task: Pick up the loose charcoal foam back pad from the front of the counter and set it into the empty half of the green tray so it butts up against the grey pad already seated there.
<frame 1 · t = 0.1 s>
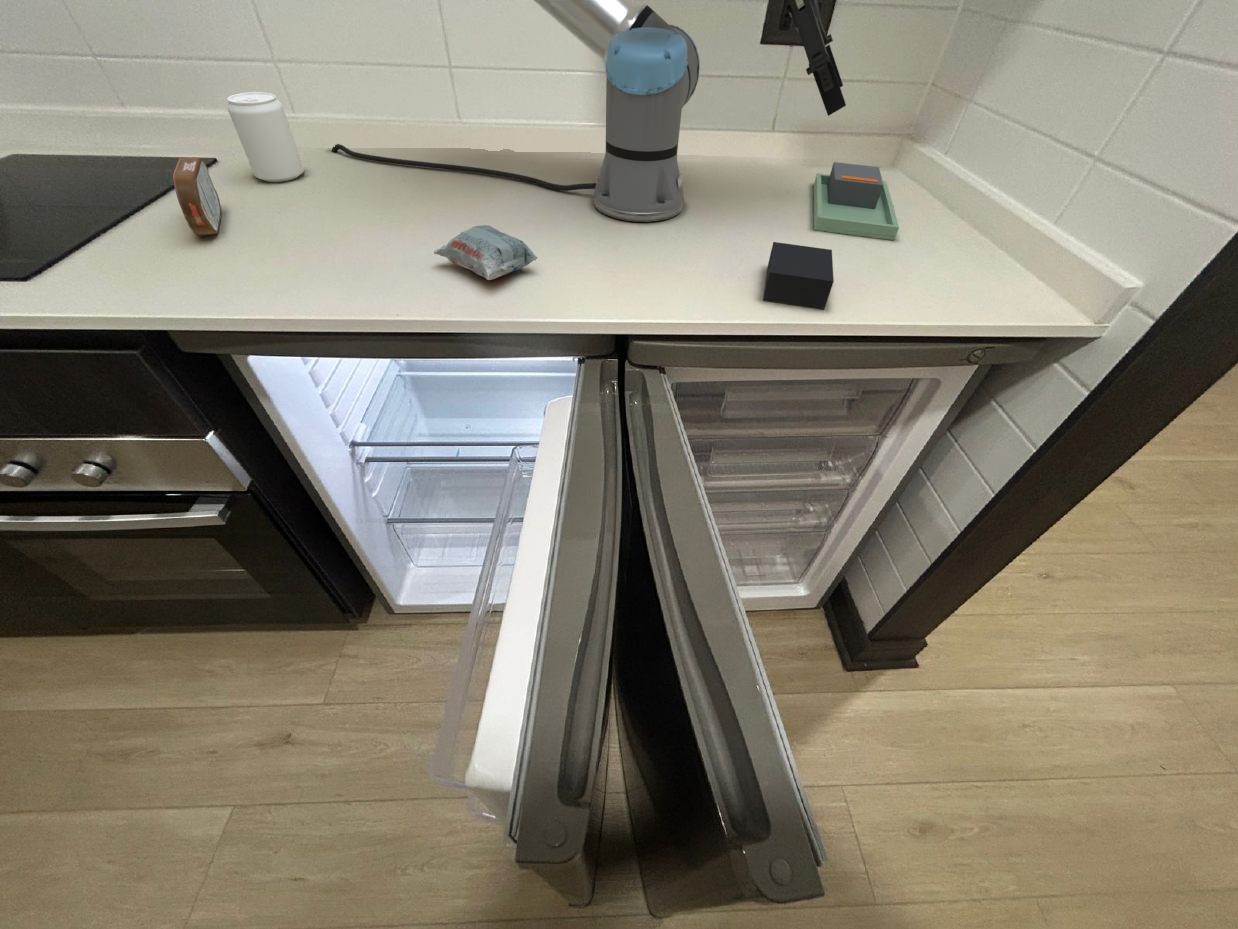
hand: (835, 99, 89), 15 cm above the counter, tool tilted 35°, fingers open, 13 cm apart
loose pad: (794, 288, 76), on the counter
packaged food: (486, 271, 77), on the counter
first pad: (850, 196, 100), resting on green tray
beverage can: (281, 176, 99), on the counter
green tray: (850, 210, 97), on the counter
tin: (213, 225, 84), on the counter
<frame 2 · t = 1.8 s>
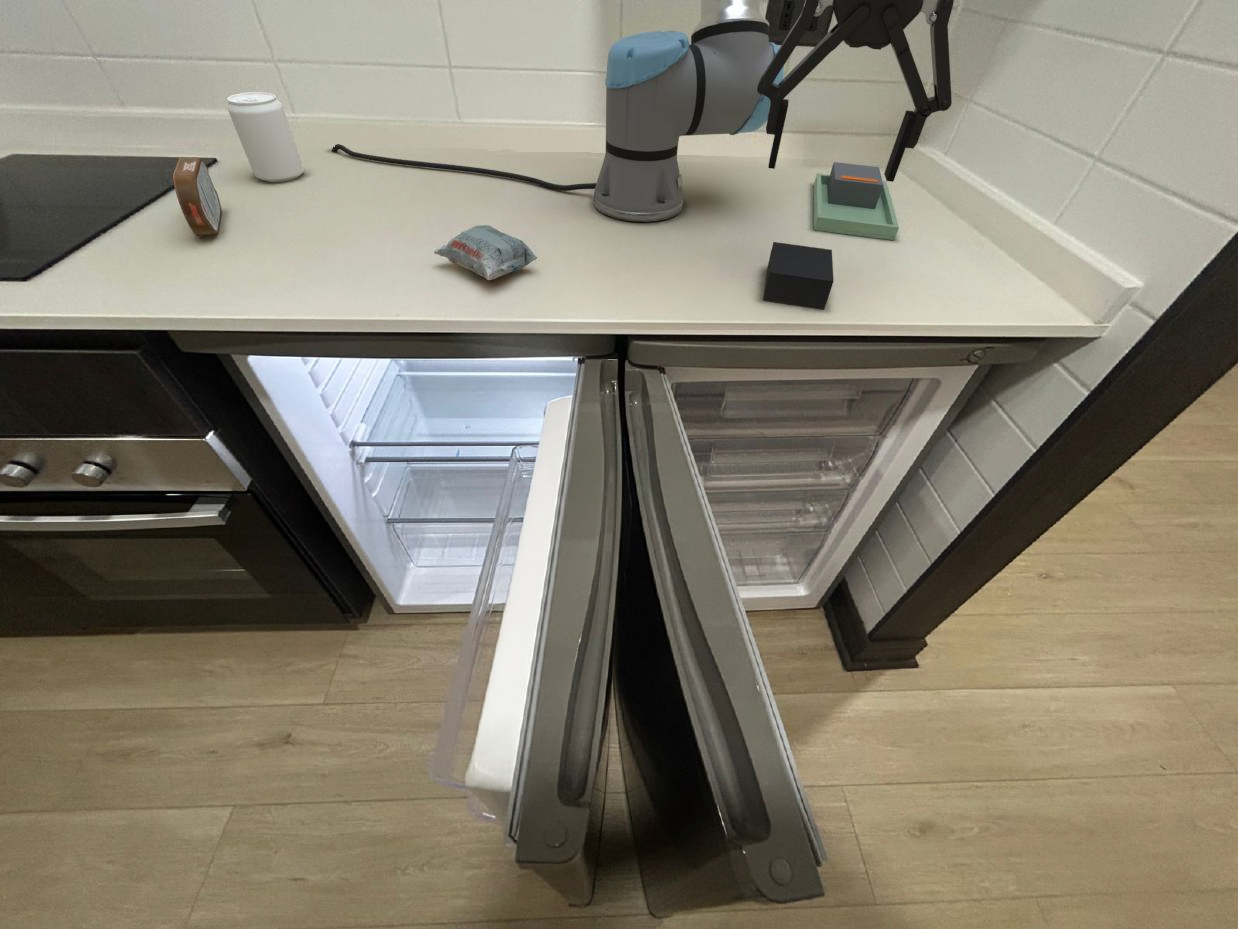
hand: (829, 171, 66), 15 cm above the counter, tool pointing down, fingers open, 13 cm apart
nothing on the counter moved.
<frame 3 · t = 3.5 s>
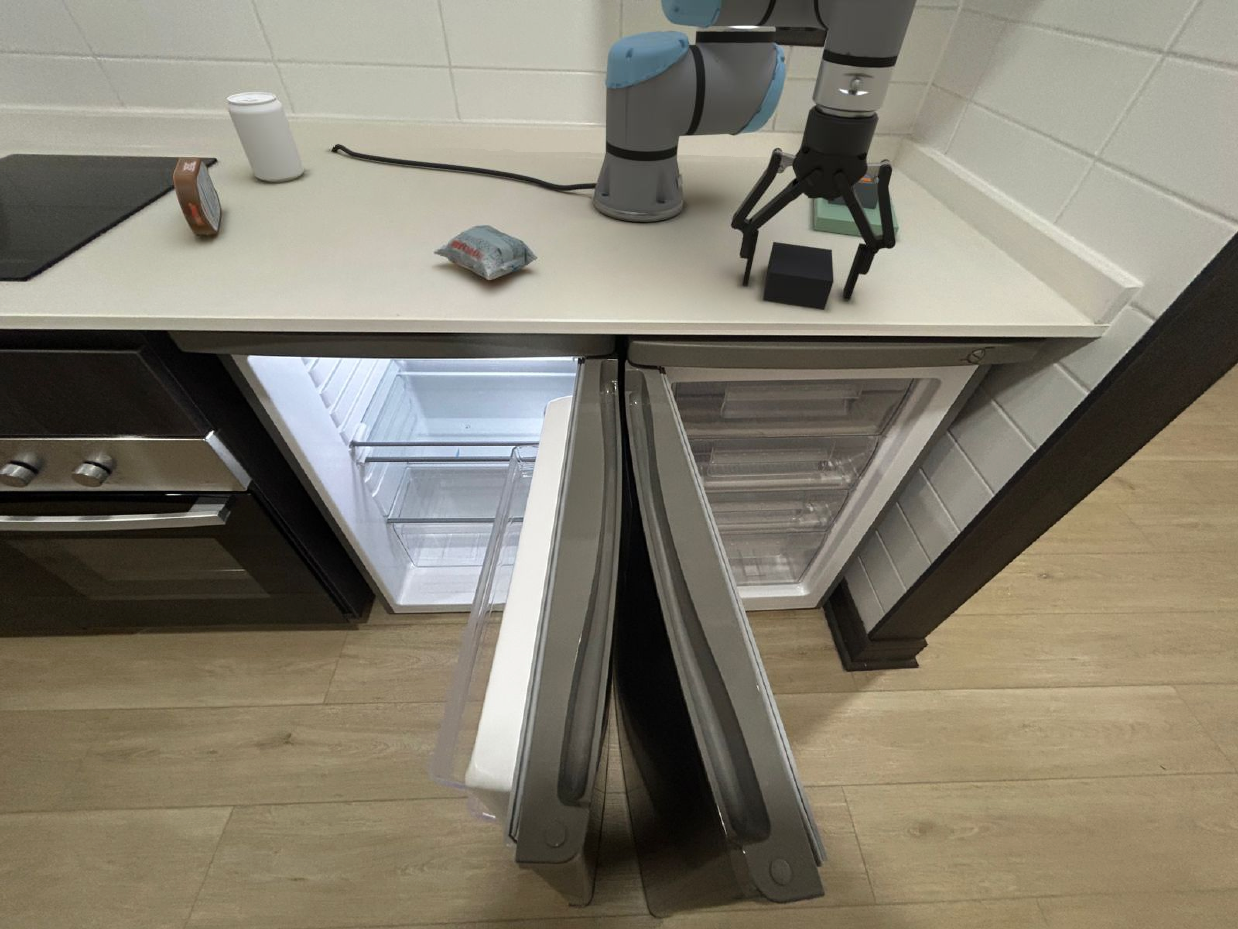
hand: (795, 288, 76), 0 cm above the counter, tool pointing down, fingers open, 13 cm apart
nothing on the counter moved.
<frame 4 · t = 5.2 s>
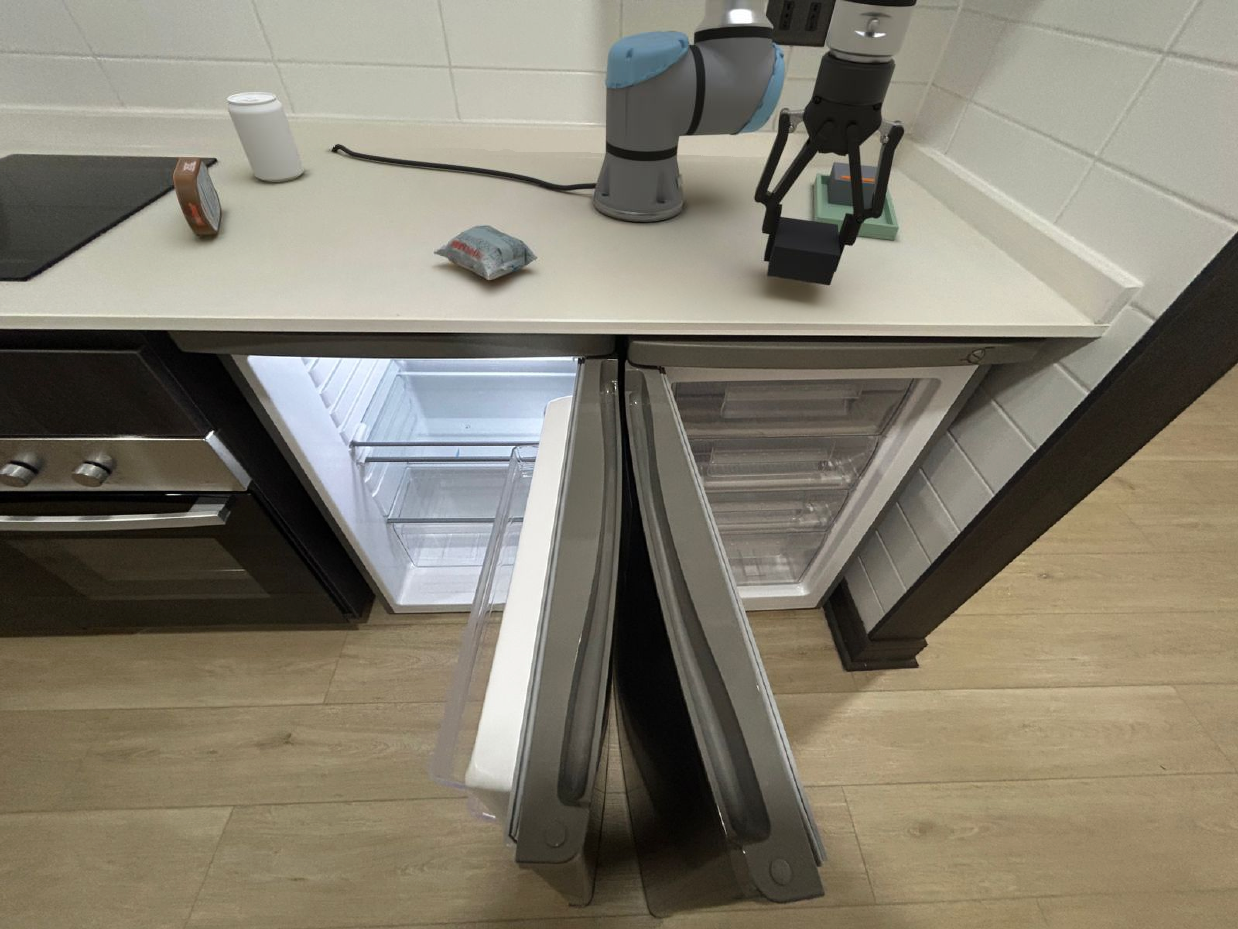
hand: (799, 261, 74), 4 cm above the counter, tool pointing down, fingers closed on loose pad, 8 cm apart
loose pad: (798, 264, 74), point 3 cm above the counter, touching gripper
everything else where it was.
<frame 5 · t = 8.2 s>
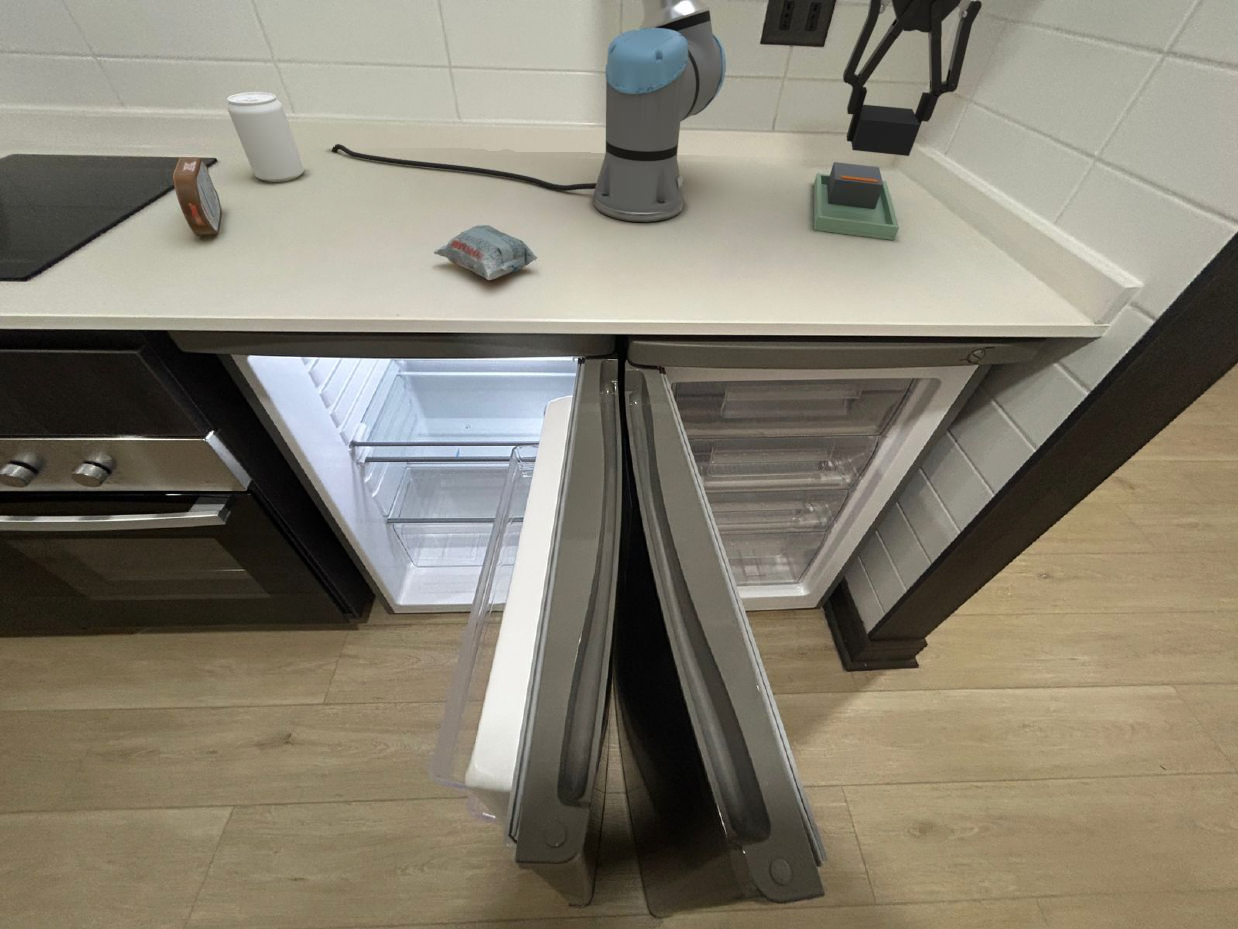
hand: (878, 141, 84), 12 cm above the counter, tool pointing down, fingers closed on loose pad, 8 cm apart
loose pad: (878, 144, 84), point 12 cm above the counter, touching gripper
everything else where it was.
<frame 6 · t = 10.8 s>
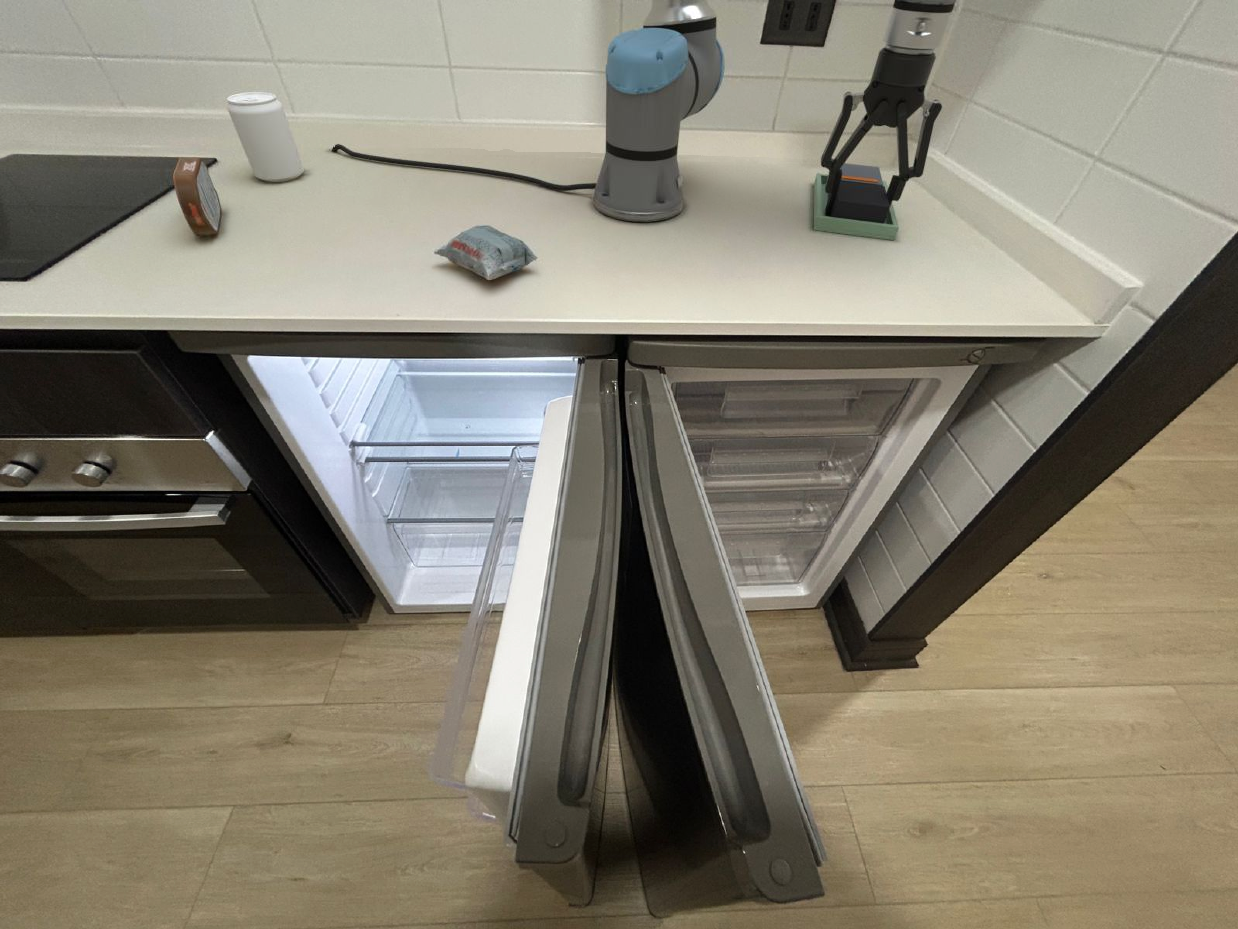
hand: (854, 216, 93), 1 cm above the counter, tool pointing down, fingers closed on loose pad, 8 cm apart
loose pad: (853, 217, 93), point 1 cm above the counter, touching green tray, gripper
everything else where it was.
when the fingers open (2 cm above the counter, at t = 12.0 s): loose pad stays where it is, resting on green tray.
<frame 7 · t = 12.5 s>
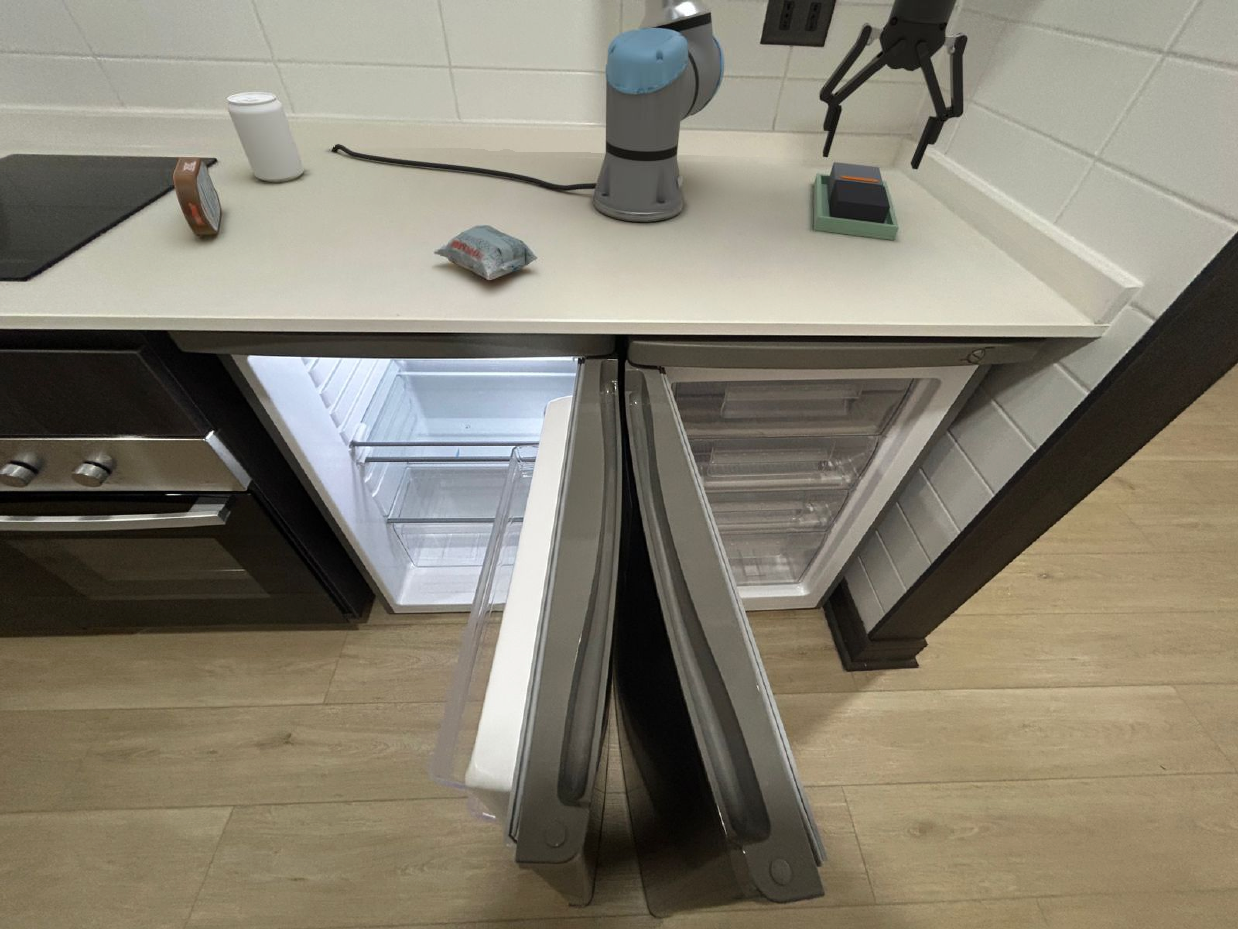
hand: (869, 160, 87), 9 cm above the counter, tool pointing down, fingers open, 13 cm apart
loose pad: (853, 218, 93), point 1 cm above the counter, touching green tray
everything else where it was.
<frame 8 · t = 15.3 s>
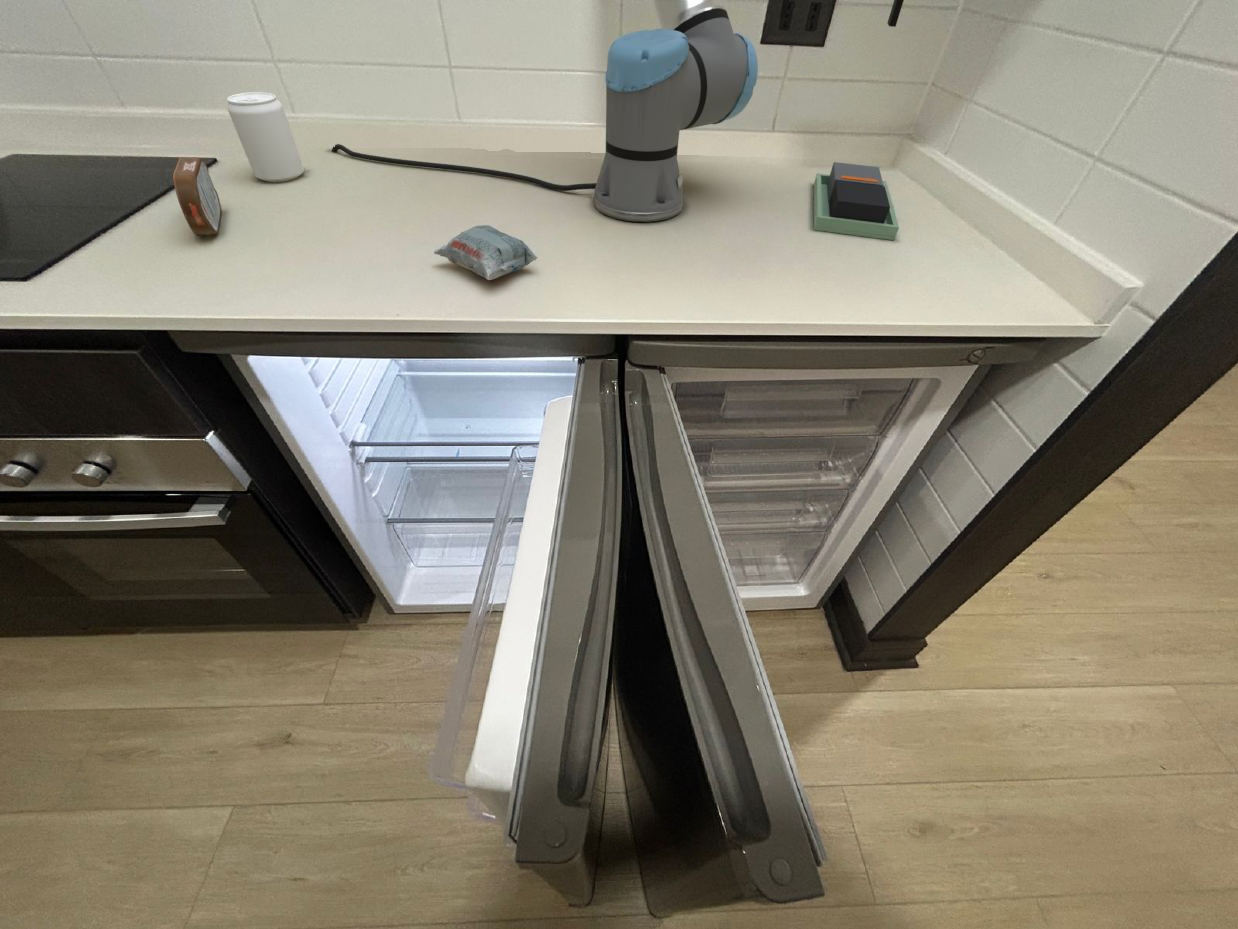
hand: (836, 21, 71), 27 cm above the counter, tool pointing down, fingers open, 13 cm apart
nothing on the counter moved.
at the end: loose pad 0.1 cm from the target spot on the counter beside the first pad, resting on green tray; loose pad tilted 0°; the gripper is holding nothing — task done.
